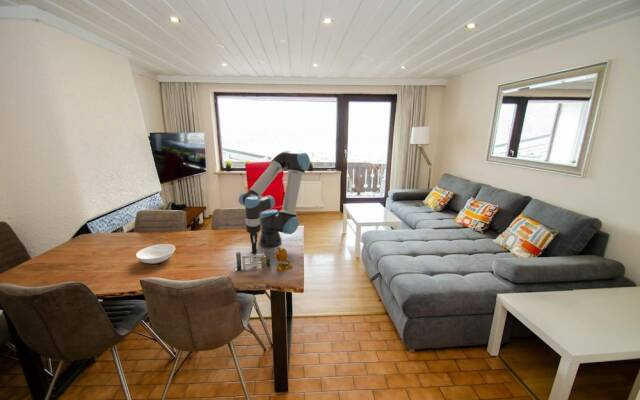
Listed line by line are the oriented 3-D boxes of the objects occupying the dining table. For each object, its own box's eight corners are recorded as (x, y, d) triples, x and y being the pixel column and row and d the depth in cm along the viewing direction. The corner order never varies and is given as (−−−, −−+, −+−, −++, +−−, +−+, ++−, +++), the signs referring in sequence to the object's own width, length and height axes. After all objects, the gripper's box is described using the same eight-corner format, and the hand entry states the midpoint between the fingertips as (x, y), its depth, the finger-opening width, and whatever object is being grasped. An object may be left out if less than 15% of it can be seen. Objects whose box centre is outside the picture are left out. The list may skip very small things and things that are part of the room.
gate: (243, 268, 148) (242, 256, 146) (243, 267, 149) (242, 255, 147) (265, 266, 151) (264, 254, 149) (264, 265, 152) (264, 253, 150)
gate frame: (235, 267, 149) (234, 251, 147) (270, 263, 154) (269, 248, 152) (235, 271, 145) (233, 255, 143) (270, 267, 150) (270, 251, 148)
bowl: (135, 272, 143) (133, 262, 142) (139, 257, 160) (138, 247, 159) (176, 264, 152) (175, 254, 151) (176, 250, 169) (175, 241, 168)
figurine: (273, 264, 154) (273, 245, 151) (292, 263, 155) (292, 244, 152) (273, 272, 146) (272, 252, 143) (292, 271, 147) (292, 251, 144)
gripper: (246, 220, 151) (247, 257, 158) (246, 229, 140) (248, 268, 146) (259, 219, 153) (260, 256, 160) (260, 228, 142) (262, 267, 148)
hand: (254, 262), depth 153 cm, fingers closed
